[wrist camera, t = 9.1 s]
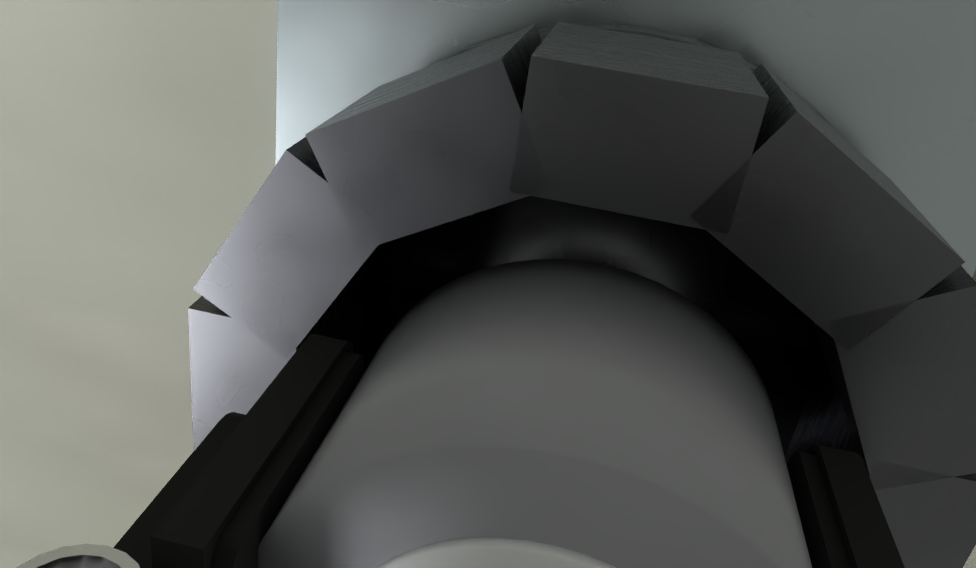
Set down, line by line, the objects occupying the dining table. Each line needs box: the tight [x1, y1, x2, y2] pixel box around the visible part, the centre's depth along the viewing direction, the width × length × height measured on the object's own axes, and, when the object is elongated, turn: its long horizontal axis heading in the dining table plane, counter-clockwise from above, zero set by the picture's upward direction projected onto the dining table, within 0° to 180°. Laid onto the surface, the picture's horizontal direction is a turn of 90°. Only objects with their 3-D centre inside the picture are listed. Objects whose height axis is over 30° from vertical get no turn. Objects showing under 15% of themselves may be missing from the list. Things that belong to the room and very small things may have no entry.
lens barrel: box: [188, 0, 976, 568], centre depth 13 cm, size 14×12×4 cm
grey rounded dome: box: [258, 259, 812, 568], centre depth 10 cm, size 6×6×4 cm
